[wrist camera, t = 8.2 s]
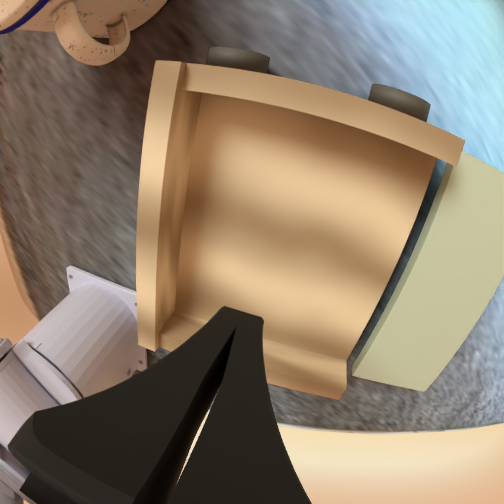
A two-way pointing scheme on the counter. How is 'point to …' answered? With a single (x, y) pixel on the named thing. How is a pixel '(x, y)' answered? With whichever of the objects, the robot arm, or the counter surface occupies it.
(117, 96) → the counter surface
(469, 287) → the panel
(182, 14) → the counter surface
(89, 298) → the robot arm
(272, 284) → the cart bed
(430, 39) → the counter surface
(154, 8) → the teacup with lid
